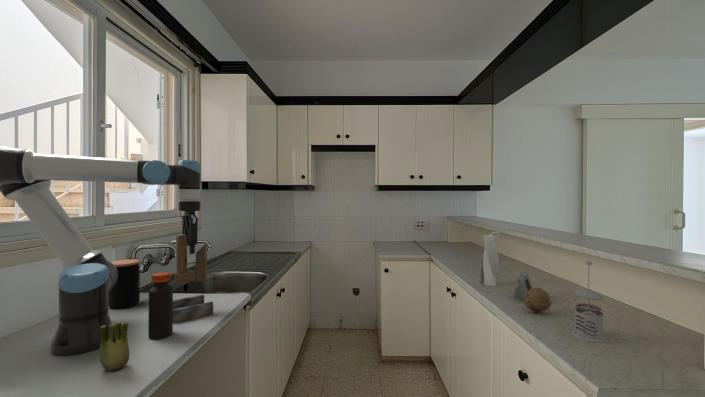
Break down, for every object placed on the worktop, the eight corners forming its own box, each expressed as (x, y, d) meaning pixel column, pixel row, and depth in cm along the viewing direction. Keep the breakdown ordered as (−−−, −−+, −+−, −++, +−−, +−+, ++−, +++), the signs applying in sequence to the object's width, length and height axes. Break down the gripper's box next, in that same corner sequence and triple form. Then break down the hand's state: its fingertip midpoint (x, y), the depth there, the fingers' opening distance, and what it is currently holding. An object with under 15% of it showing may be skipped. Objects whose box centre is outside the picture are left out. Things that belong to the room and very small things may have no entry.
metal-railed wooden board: (172, 323, 114) (172, 310, 114) (164, 313, 124) (164, 301, 124) (213, 314, 123) (213, 302, 123) (203, 305, 133) (203, 294, 133)
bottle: (175, 335, 105) (176, 274, 105) (152, 342, 100) (152, 277, 100) (168, 329, 109) (168, 270, 109) (145, 335, 104) (145, 274, 104)
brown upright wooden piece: (205, 281, 124) (204, 234, 123) (174, 283, 122) (174, 235, 121) (207, 278, 127) (206, 233, 127) (177, 280, 125) (177, 234, 125)
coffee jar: (144, 304, 134) (144, 261, 134) (115, 311, 125) (115, 265, 125) (132, 299, 140) (132, 258, 140) (103, 306, 131) (103, 262, 131)
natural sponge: (556, 315, 125) (557, 290, 125) (539, 318, 122) (540, 292, 122) (536, 307, 134) (536, 284, 134) (520, 310, 131) (520, 285, 131)
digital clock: (529, 304, 138) (529, 280, 138) (507, 299, 144) (508, 276, 144) (541, 296, 149) (542, 274, 149) (521, 292, 155) (521, 270, 155)
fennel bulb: (97, 373, 82) (97, 326, 82) (111, 363, 87) (111, 319, 87) (119, 373, 82) (119, 326, 82) (132, 363, 87) (132, 319, 87)
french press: (598, 345, 100) (599, 265, 100) (558, 331, 110) (559, 259, 110) (612, 338, 105) (613, 262, 105) (572, 325, 115) (573, 256, 115)
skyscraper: (496, 283, 172) (497, 231, 172) (500, 287, 164) (501, 233, 164) (479, 282, 173) (480, 231, 173) (483, 286, 165) (483, 232, 165)
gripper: (206, 201, 119) (206, 263, 119) (193, 200, 133) (193, 256, 133) (184, 201, 114) (184, 266, 115) (173, 200, 128) (173, 258, 128)
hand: (189, 260), depth 124 cm, fingers closed on brown upright wooden piece, 5 cm apart
